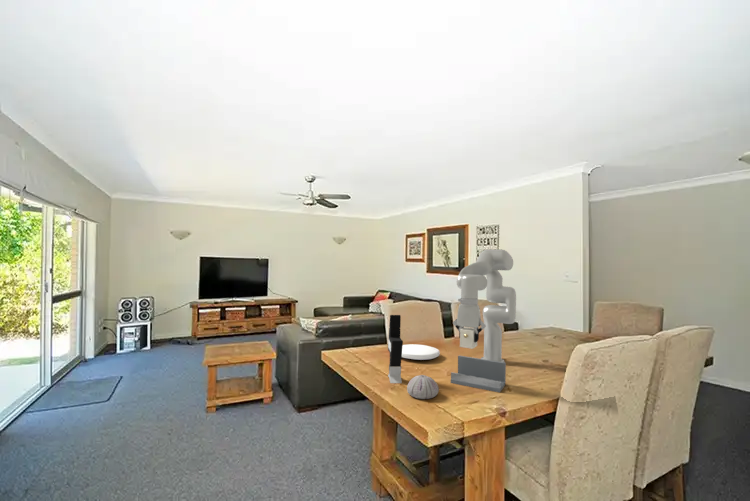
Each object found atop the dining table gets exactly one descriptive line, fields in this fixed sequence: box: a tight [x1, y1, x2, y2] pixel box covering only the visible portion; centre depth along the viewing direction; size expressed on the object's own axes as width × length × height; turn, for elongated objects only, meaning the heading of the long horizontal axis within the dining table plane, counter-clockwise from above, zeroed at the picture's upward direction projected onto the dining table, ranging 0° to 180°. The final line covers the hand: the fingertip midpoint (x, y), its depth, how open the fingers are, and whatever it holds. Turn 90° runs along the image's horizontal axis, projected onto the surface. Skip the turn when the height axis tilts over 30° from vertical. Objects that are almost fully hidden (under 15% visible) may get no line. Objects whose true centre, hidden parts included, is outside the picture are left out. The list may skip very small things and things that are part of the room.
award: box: [387, 314, 404, 384], centre depth 173 cm, size 15×5×30 cm, turn 5°
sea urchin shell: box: [406, 374, 440, 400], centre depth 153 cm, size 13×14×8 cm
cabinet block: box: [459, 327, 478, 350], centre depth 169 cm, size 8×6×8 cm
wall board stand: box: [450, 354, 507, 394], centre depth 168 cm, size 12×22×10 cm, turn 59°
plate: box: [402, 343, 441, 361], centre depth 213 cm, size 28×6×27 cm
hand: (468, 340), depth 170 cm, fingers closed on cabinet block, 6 cm apart
